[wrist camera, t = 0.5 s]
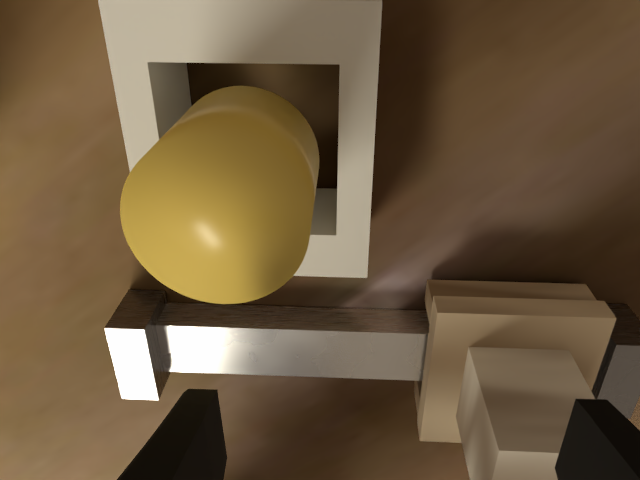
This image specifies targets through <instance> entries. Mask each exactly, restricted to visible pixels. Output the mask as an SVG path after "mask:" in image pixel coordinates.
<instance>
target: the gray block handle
mask: <svg viewBox="0 0 640 480" xmlns="http://www.w3.org/2000/svg"><path fill="white" fill-rule="evenodd" d="M607 305H608V307H609V308H610V310H611V311H612V312H613V314H614V315H615V317H616V318H617V319H616V322H615V325H614V328H613V331H612V333H611V336H610V339H609V342H608V345H607V348H606V351H605V354H604V357H603V359H602V362H601V365H600V368H599V371H598V374H597V377H596V380H595V382H594V385H593V388H592V391H591V392H592V394H593V395H594V397H595V399H606V400H608V401H609V402H610V403H611V404H612V405H613V406H615V407H616V408H617V409H618V410H619V411H620V412H621V413H622V414H623V415H624V416H625V417H626V418H631V416H632V413H633V411H634V408H635V406H636V403H637V401H638V398H639V396H640V320H639V319H638V318H637V316H636V315H635V314H634V312H633V311H632V310H631V308H630V307H629V306H628V305H627V304H607ZM429 325H430V324H429V319H428V315H427V311H425V310H392V309H360V308H327V307H295V306H262V305H230V304H197V303H167V299H166V294H165V291H161V290H128V292H127V293H126V295H125V297H124V298H123V300H122V301H121V303H120V304H119V306H118V308H117V309H116V311H115V312H114V314H113V315H112V317H111V319H110V320H109V322H108V323H107V325H106V326H105V328H104V329H105V333H106V337H107V341H108V345H109V349H110V353H111V357H112V361H113V365H114V369H115V373H116V377H117V381H118V385H119V389H120V393H121V397H122V399H138V400H159V399H160V396H161V394H162V391H163V389H164V387H165V384H166V382H167V379H168V377H169V375H170V372H192V373H219V374H247V375H275V376H302V377H330V378H358V379H385V380H413V381H422V379H423V371H424V364H425V356H426V348H427V341H428V333H429Z"/></svg>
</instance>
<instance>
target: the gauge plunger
mask: <svg viewBox="0 0 640 480" xmlns="http://www.w3.org/2000/svg"><path fill="white" fill-rule="evenodd" d="M318 172H319V150H318V145H317V141H316V138H315V135H314V133H313V131H312V129H311V127H310V125H309V123H308V122H307V120H306V119H305V118H304V116H303V115H302V114H301V113H300V112H299V111H298V109H297V108H295V107H294V106H293V105H292V104H291V103H290V102H288V101H287V100H285V99H284V98H282V97H281V96H279V95H277V94H275V93H273V92H270V91H267V90H265V89H261V88H257V87H252V86H231V87H225V88H221V89H218V90H215V91H213V92H211V93H209V94H207V95H205V96H203V97H202V98H201V99H199V100H198V101H197V102H196V103H195V104H194V105H193V106H191V107H190V108H189V110H188V111H187V112H186V113H185V114H184V115H183V116H182V117H181V118H180V119H179V120H178V121H177V122H176V123H175V124H174V125H173V126H172V127H171V128H170V129H169V130H168V131H167V132H166V133H165V134H164V135H163V136H162V137H161V138H160V139H159V141H158V142H157V143H156V144H155V145H154V146H153V147H152V148H151V149H150V150H149V151H148V152H147V153H146V154H145V155H144V156H143V157H142V158H141V159H140V160H139V161H138V162H137V164H136V165H135V166H134V168H133V169H132V170H131V172H130V174H129V176H128V178H127V179H126V182H125V184H124V187H123V190H122V195H121V201H120V216H121V224H122V228H123V231H124V235H125V237H126V240H127V242H128V244H129V247H130V248H131V250H132V252H133V253H134V255H135V257H136V258H137V259H138V261H139V262H140V263H141V265H142V266H143V267H144V268H145V269H146V270H147V271H148V272H149V273H150V274H151V275H152V276H153V277H155V278H156V279H157V280H158V281H160V282H161V283H162V284H164V285H165V286H167V287H168V288H170V289H172V290H174V291H176V292H178V293H180V294H182V295H184V296H187V297H189V298H192V299H196V300H199V301H204V302H209V303H217V304H237V303H245V302H249V301H253V300H257V299H259V298H262V297H264V296H267V295H269V294H271V293H272V292H274V291H276V290H277V289H279V288H280V287H282V286H283V285H284V284H285V283H286V282H287V281H288V280H290V279H291V278H292V276H293V275H294V274H295V273H296V271H297V270H298V269H299V267H300V265H301V263H302V262H303V260H304V257H305V254H306V252H307V248H308V244H309V239H310V231H311V224H312V216H313V209H314V201H315V194H316V187H317V179H318Z"/></svg>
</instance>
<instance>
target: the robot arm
mask: <svg viewBox="0 0 640 480" xmlns="http://www.w3.org/2000/svg"><path fill="white" fill-rule="evenodd" d="M226 460H227V455H226V448H225V441H224V434H223V427H222V420H221V413H220V406H219V399H218V393H217V390H206V389H187V390H186V391H185V392H184V393H183V394H182V396H181V397H180V398H179V400H178V401H177V403H176V404H175V405H174V407H173V408H172V409H171V411H170V412H169V414H168V415H167V416H166V418H165V419H164V420H163V422H162V423H161V424H160V426H159V427H158V428H157V430H156V431H155V432H154V434H153V435H152V436H151V438H150V439H149V440H148V442H147V443H146V444H145V445H144V447H143V448H142V449H141V450H140V452H139V453H138V454H137V455H136V457H135V458H134V459H133V460H132V462H131V463H130V464H129V465H128V467H127V468H126V469H125V470H124V471H123V473H122V474H121V475H120V476H119V478H118V479H117V480H223V479H224V472H225V466H226ZM555 471H556V475H557V479H558V480H640V431H639V430H638V429H637V428H636V427H635V426H634V425H633V424H632V423H631V422H630V421H629V420H628V419H627V418H626V417H625V416H624V415H623V414H622V413H621V412H620V411H619V410H618V409H617V408H616V407H615V406H613V405H612V404H611V403H610V402H609V401H608V400H606V399H575V402H574V406H573V409H572V412H571V416H570V419H569V422H568V425H567V429H566V432H565V435H564V439H563V442H562V445H561V448H560V452H559V455H558V458H557V462H556V465H555Z"/></svg>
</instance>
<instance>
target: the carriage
mask: <svg viewBox="0 0 640 480" xmlns="http://www.w3.org/2000/svg"><path fill="white" fill-rule="evenodd" d="M425 305H426V310H427V315H428V319H429V324H430V325H429V333H428V341H427V348H426V356H425V364H424V371H423V379H422V381H415V384H414V395H415V402H416V409H417V416H418V417H417V425H418V433H419V440H420V441H429V442H454V443H462V447H463V451H464V455H465V460H466V464H467V469H468V473H469V478H470V480H558V479H557V475H556V471H555V465H556V462H557V458H558V455H559V452H560V448H561V445H562V442H563V439H564V435H565V432H566V429H567V425H568V422H569V419H570V416H571V412H572V409H573V406H574V402H575V399H595V397H594V395H593V394H592V392H591V391H592V388H593V385H594V382H595V380H596V377H597V374H598V371H599V368H600V365H601V362H602V359H603V357H604V354H605V351H606V348H607V345H608V342H609V339H610V336H611V333H612V331H613V328H614V325H615V322H616V319H617V318H616V317H615V315H614V314H613V312H612V311H611V310H610V308H609V307H608V305H607V304H606V303H605V301H597V300H596V298H595V297H594V295H593V294H592V293H591V291H590V290H589V288H588V287H587V285H586V284H566V283H530V282H495V281H460V280H427V285H426V293H425Z"/></svg>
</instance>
